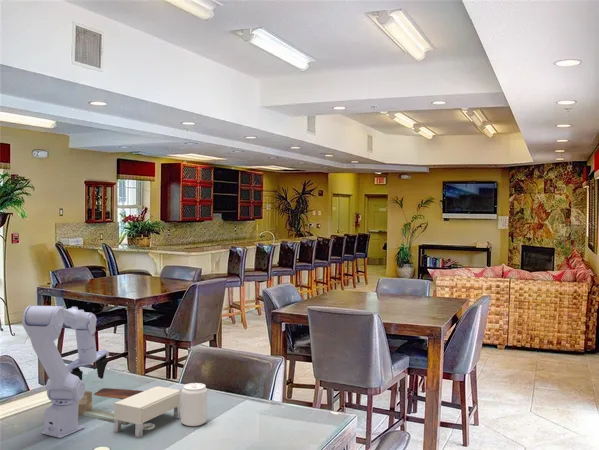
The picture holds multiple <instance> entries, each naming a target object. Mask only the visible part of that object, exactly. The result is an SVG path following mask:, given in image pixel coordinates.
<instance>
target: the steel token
mask: <svg viewBox="0 0 599 450" xmlns="http://www.w3.org/2000/svg"><path fill="white" fill-rule="evenodd" d="M154 428H156V424H155V423H152V422H148V423H146V422H145V423H143V431H150V430H153V429H154Z"/></svg>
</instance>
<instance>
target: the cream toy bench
mask: <svg viewBox="0 0 599 450" xmlns="http://www.w3.org/2000/svg"><path fill="white" fill-rule="evenodd" d="M142 391H143V392H141V393H138V394H136V395H133V396H131V397H128V398H126V399H121V400H118V401H116V402H114V403H113V405H114V406H113V413H114V423H113V432H114V433H117V434H118V433H120V432H121V431H122V424H121V421H125V422H130V423H129V424H134V425H135V429H134V430H135V435H134V436H135V438H138V439H139V438H142V437H143V435H144V434H143V431H144V430H143V424H145V423H146V422H148V421H150V420H153V419H154V418H156V417H158V416H161V415H163V414H165V413H167V412H169V411H171V410H173V419H181V406H182V389H174V388H171V387H170V388H169V387H165V386H158V385H157V386H154V387H151V388H149V389H146V390H142Z"/></svg>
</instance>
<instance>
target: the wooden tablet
mask: <svg viewBox="0 0 599 450" xmlns="http://www.w3.org/2000/svg"><path fill="white" fill-rule="evenodd" d="M97 391H98V392H97ZM97 391H96V392H95V393H94V394H93V395H94V396H97V397H102V398H111V399H112V398H113V399H121V400H123V399H126V398H128V397H131V396H133V395H136V394H138V393H141V392H143V391H144V390H137V389H136V390H135V389H127V388H126V389H125V388H124V389H122V388H112V387H111V388H110V387H109V388H108V387H107V388H105V387H103V388H101V389H98V390H97Z"/></svg>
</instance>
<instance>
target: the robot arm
mask: <svg viewBox="0 0 599 450" xmlns="http://www.w3.org/2000/svg"><path fill="white" fill-rule="evenodd" d="M21 325H22V327H23V329H24V330H25V333H26V334H27V336H28V338H30V342H31V346H32V348H33V350H34V352H35V354H36V356H37V358H38V359H39V361H40V363H41V365H42V367H43V369H44V370H45V373H46V375H47V377H48V379H47V382H46V384H45V390H46V396H47V398H48V400H49V401H50V403H51V406H49V407H47V408H46V409H45V411H44V416H43V420H44V421H43V422H44V423H43V431H42V432H41V434H42V435H43V434H44V435H47V436H50V437H55V438H59V439H61V438H63V437H66V436H68V435H69V436H70V434H74V433H76V432H78V431H80V430H83V429H85V426H84V425H79V414H78V405H79V401H80V400H81V399H82V398H83V396H84V393H85V391H86V385H85V383H84V381H83V372H84V371H83V370H81V369H80V368H82V367H83V366H87V365H92V364H93V363H95V366H96V371H97V373H96V374H97V377H98V378H99V379H100V380H102V379H104V375H105V372H106V371H105V370H106V366H107V364H108V363H109V358H108V357H110V351H109V350H108V349H106V348H105V349H103V350H99V351H97V346H96V345H97V344H96V337H95V334H96V325H97V316H96V314H94V313H93V312H86V311H85V310H84V309H79V308H78V306H71V307H70V308H65V306H61V305H32V304H29V305H28V306H27V307H26V308H25V309H24V311H23V314H22V321H21ZM63 326H67V327H70V328H71V330H75V339H76V346H77V355H78V358H76V359H75V360H73V361H71V362H70V363H69V364H66V363H65V361H64V359H63V357H62V355H61V354H60V351H59V350H58V348H57V345H56V343H55V341H56V340H57V339H59V338H60V335H61V332H62V329H63Z"/></svg>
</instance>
